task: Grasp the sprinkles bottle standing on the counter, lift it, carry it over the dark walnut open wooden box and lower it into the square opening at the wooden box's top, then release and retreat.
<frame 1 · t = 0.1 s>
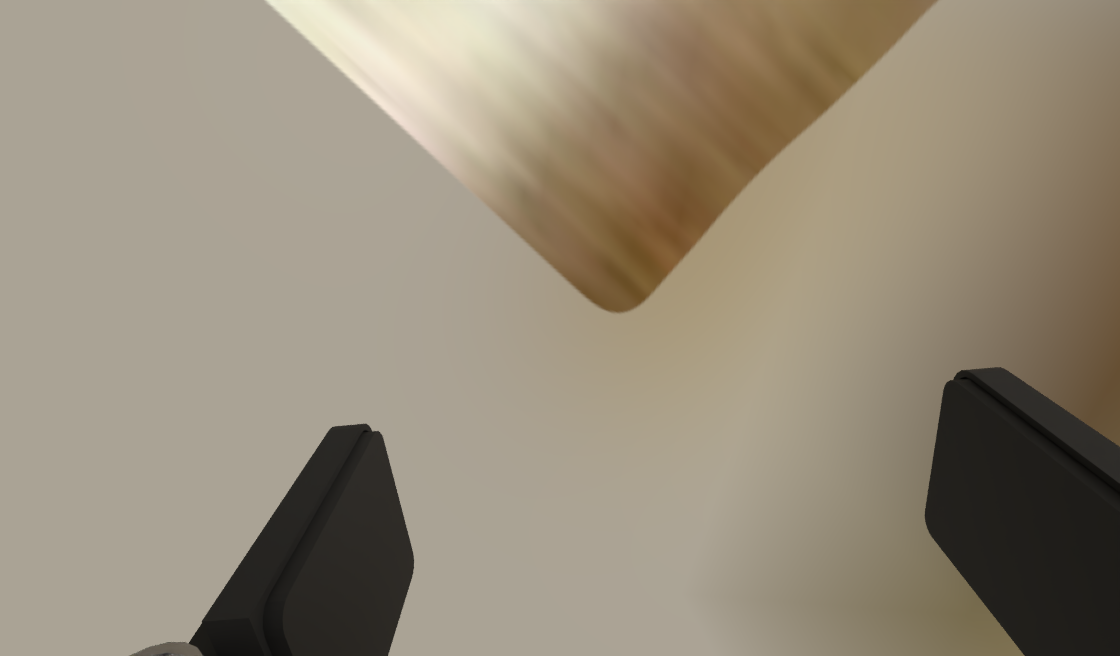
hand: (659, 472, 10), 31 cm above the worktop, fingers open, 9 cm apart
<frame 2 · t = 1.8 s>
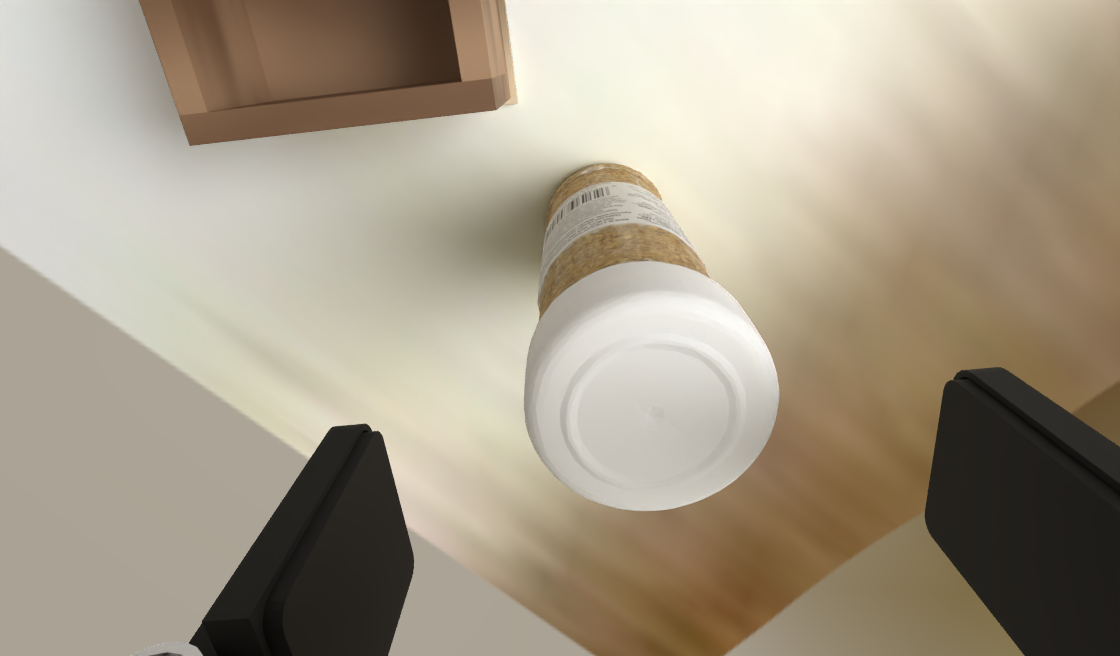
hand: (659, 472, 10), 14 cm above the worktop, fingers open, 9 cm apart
sprinkles bottle: (605, 220, 23), on the worktop
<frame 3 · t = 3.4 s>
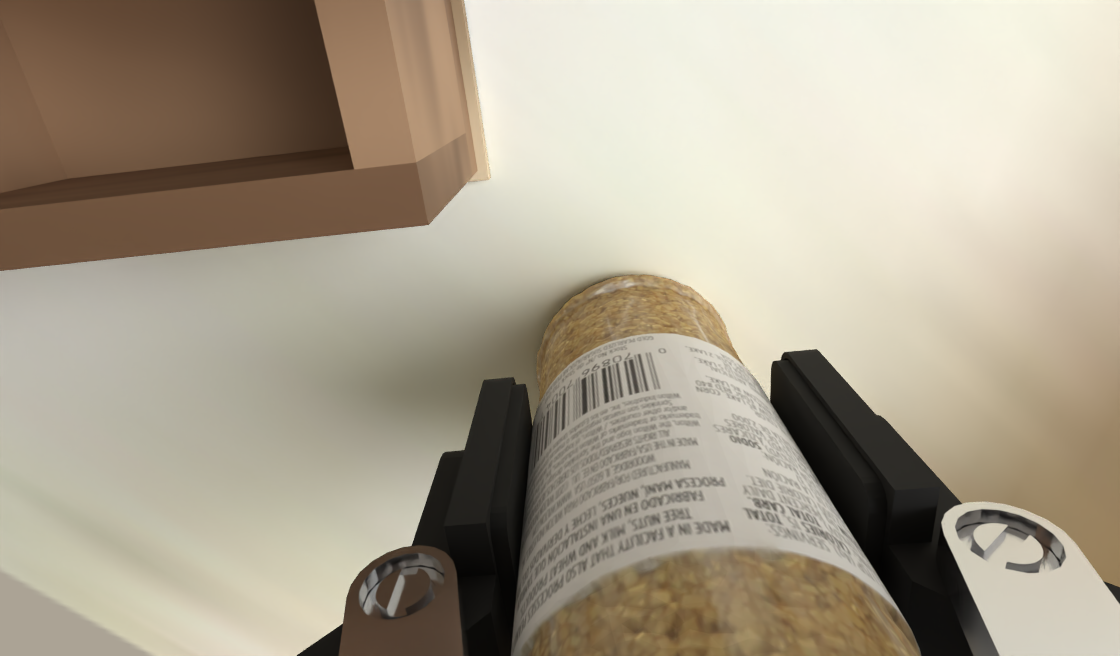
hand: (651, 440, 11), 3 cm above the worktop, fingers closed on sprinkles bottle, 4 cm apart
sprinkles bottle: (633, 356, 14), on the worktop, touching gripper
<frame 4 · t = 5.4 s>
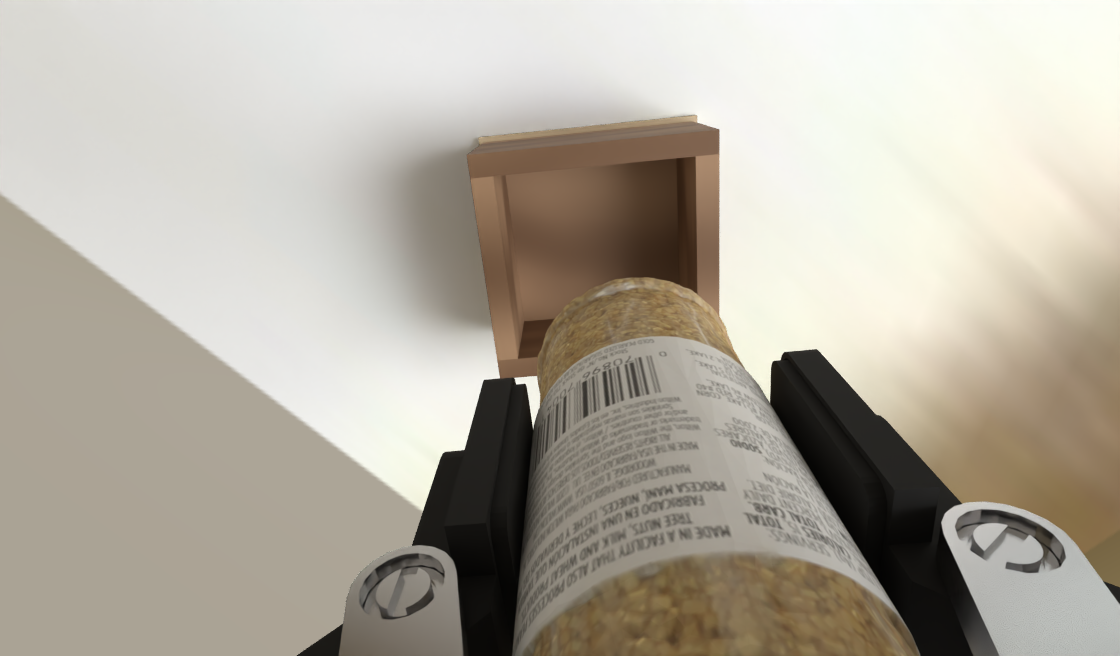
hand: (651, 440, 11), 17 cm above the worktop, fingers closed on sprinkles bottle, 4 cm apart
sprinkles bottle: (633, 358, 14), point 13 cm above the worktop, touching gripper
open wooden box: (594, 232, 27), on the worktop
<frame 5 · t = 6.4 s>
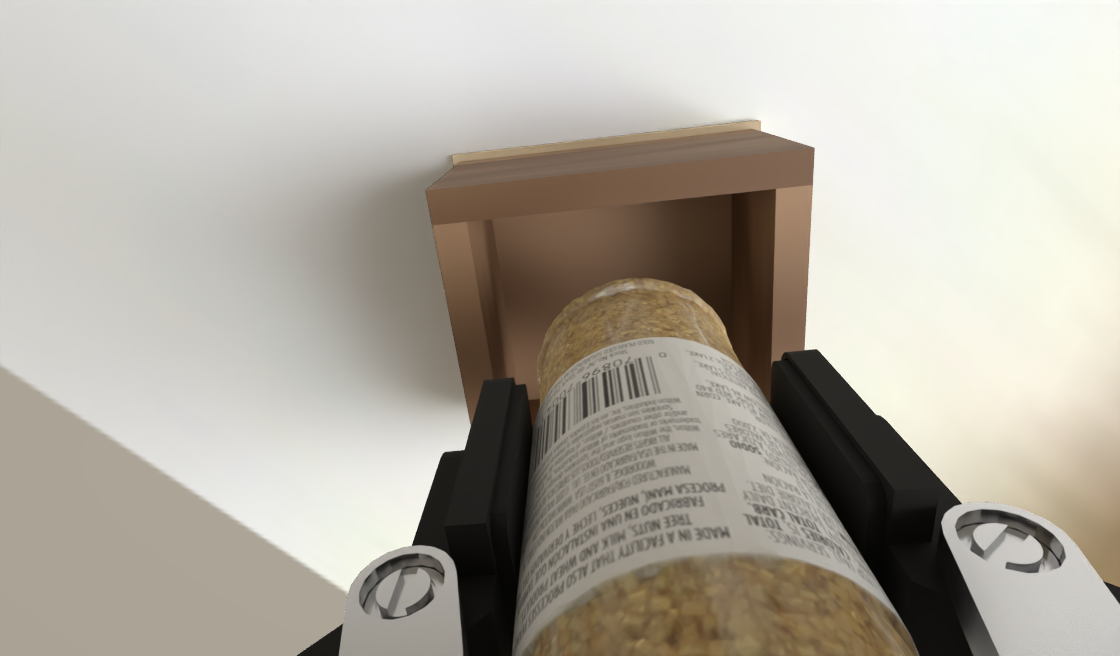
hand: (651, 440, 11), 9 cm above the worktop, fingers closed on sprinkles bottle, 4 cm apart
sprinkles bottle: (633, 358, 14), point 6 cm above the worktop, touching gripper
open wooden box: (614, 281, 20), on the worktop
when the fingers open (6 cm above the worktop, at t = 7.4 s): sprinkles bottle drops 2 cm, resting on open wooden box.
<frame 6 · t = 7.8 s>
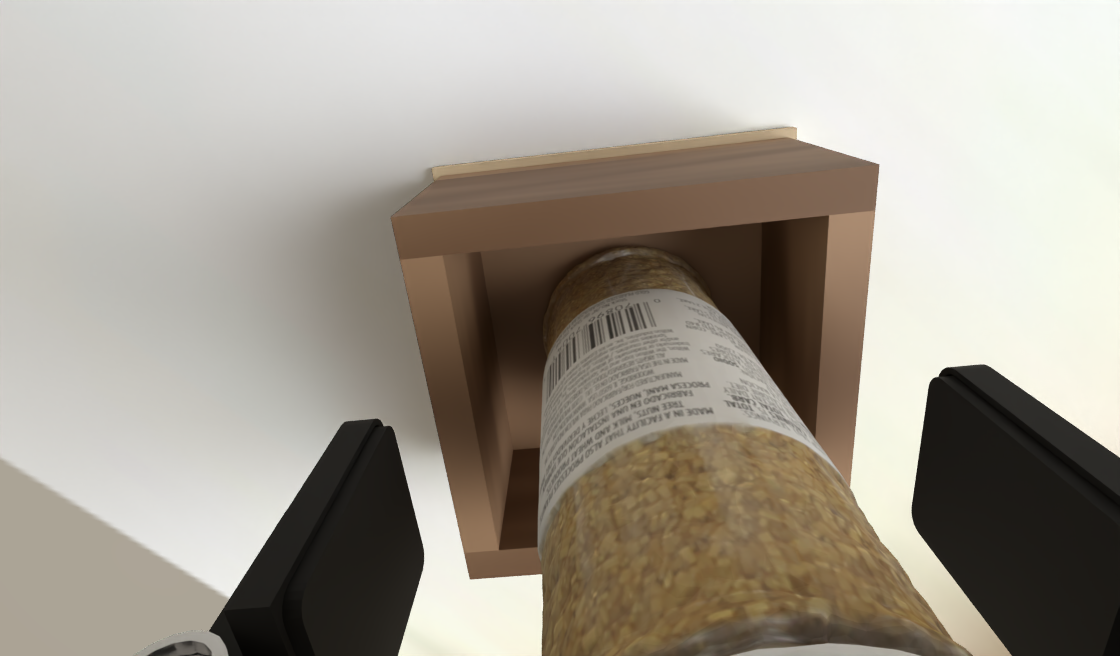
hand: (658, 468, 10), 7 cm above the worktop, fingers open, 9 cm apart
sprinkles bottle: (628, 320, 16), point 1 cm above the worktop, touching open wooden box
open wooden box: (622, 313, 17), on the worktop
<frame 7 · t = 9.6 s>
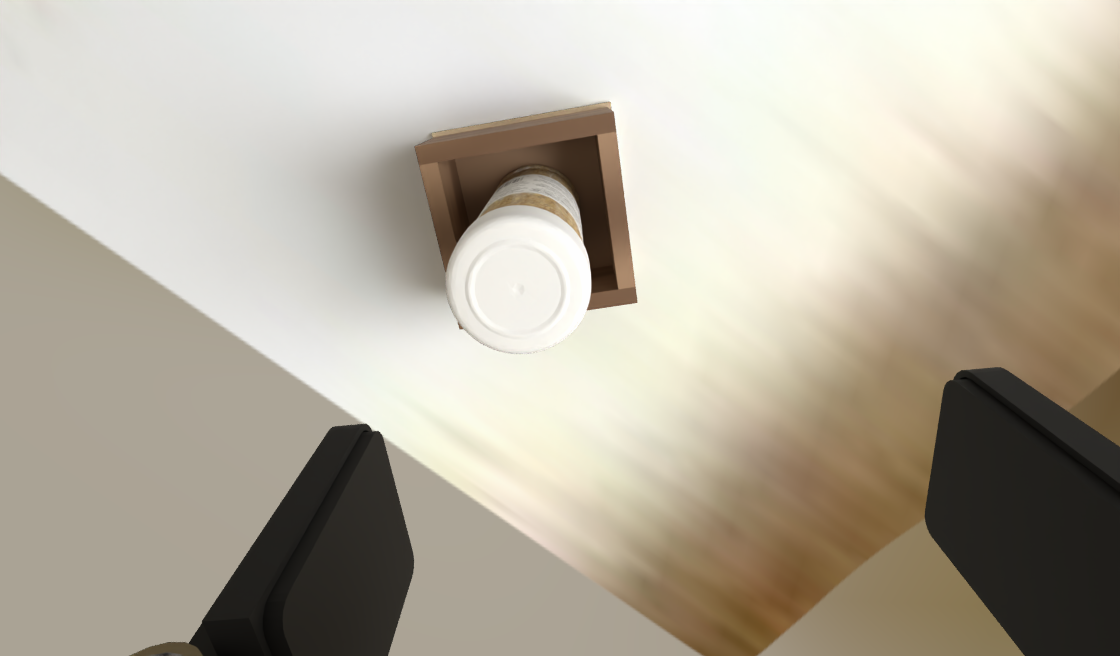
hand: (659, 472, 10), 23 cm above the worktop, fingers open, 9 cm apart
sprinkles bottle: (537, 207, 31), point 1 cm above the worktop, touching open wooden box
open wooden box: (536, 206, 32), on the worktop
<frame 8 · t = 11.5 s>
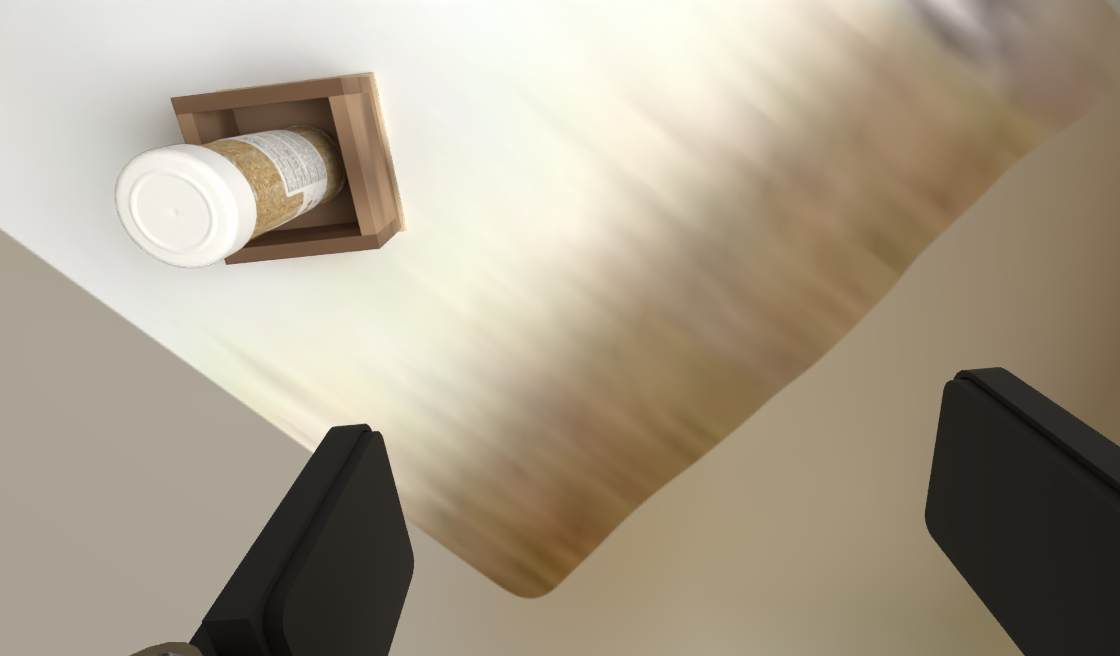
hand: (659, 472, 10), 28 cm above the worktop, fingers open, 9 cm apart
sprinkles bottle: (312, 163, 35), point 1 cm above the worktop, touching open wooden box
open wooden box: (316, 163, 36), on the worktop
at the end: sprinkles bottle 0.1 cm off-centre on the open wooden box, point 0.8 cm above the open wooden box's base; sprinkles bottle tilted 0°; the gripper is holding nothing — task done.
